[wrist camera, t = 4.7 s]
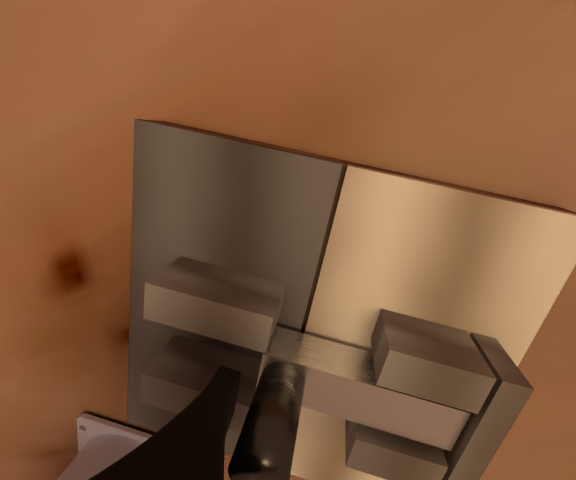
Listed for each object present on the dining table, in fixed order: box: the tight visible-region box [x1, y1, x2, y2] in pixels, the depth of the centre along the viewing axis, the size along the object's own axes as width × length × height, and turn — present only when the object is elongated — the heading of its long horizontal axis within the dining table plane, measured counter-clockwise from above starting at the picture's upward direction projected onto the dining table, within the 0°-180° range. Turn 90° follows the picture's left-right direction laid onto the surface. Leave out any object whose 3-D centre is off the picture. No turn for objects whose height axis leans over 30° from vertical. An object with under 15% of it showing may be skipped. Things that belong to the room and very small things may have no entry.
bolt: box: [228, 326, 471, 480], centre depth 11 cm, size 8×2×6 cm, turn 79°
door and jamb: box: [127, 119, 576, 480], centre depth 15 cm, size 18×17×5 cm
